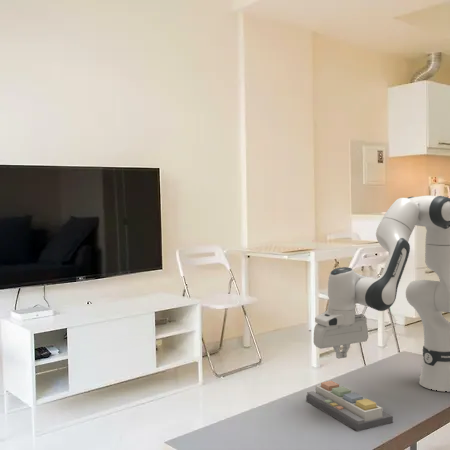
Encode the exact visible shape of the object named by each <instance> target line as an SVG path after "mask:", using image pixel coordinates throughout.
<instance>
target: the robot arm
mask: <svg viewBox="0 0 450 450" xmlns="http://www.w3.org/2000/svg"><path fill="white" fill-rule="evenodd" d="M415 227H424V228H425V230H426V231H425V232H426V233H425V244H424V245H425V246H424V247H425V250H424V251H425V253H424V258H425V260H424V262H425V265H426V267H427V268H428V269H430V271H433V272H434V273H435V274H436V275H437V277H438V279H439V281H436V280H431V279H418V280H412V281H410V282H409V283H408V285H407V286H406V289H405V298H406V301H407V303H408V304H409V305H410V306H411V307H413V309H414V310H415V311H416V313H418V316H419V318H420V320H421V324H422V326H423V346H422V356H423V357H422V363H421V371H420V374H419V382H418V384H419V385H420V386H422V387H424V388H426V389H429V390H431V389H432V391H436V390H437V392H445V391H447V392H448V393H450V321H449V320H447V319H446V318H445V316H444V315H443V313H450V198H449V197H447V196H443V195H421V196H420V195H419V196H409V197H399V198H397V199H396V200H395V201H394V202H393V203H392V204H391V205H390V206H389V208H388V209H387V210H386V212H385V214H384V215H383V217H382V218H381V220H380V222H379V223H378V226H377V228H376V233H375V236H376V240H377V242H378V244H379V246H381V247H382V248H383V249H384V250H386V251H387V252H388V258H387V261H386V263H385V267H384V268H383V272H382V274H381V275H380V276H379V277H375V278H374V277H370V276H365V275H363V274H360V273H357V272H356V271H354V269H353V268H351V267H348V266H346V267H345V266H343V267H337V268H335V269H332V270H331V271H330V273H329V276H328V282H327V297H328V305H327V310H325V311H324V312H322V313H321V314H317V315H316V316H315V318H314V322H315V326H314V328H313V345H314V346H315V347H316V348H318V349H328V348H333V350H334V352H335V357H336V359H344V358H347V357H348V352H349V350H350V348H351V344H352V345H353V344H359V343H363V342H367V341H368V339H369V332H368V331H369V330H368V328H369V327H368V322H367V317H366V315H364V314H363V313H359V314H356V304H357V305H361V306H364V307H369V308H371V309H373V310H375V311H377V312H378V311H379V312H385V311H387V310H388V309H390V308H391V307H392V306H393V305H394V304H395V302H396V299H397V293H398V287H399V286H400V285H399V284H400V282H401V279H402V275H403V273H404V270H405V267H406V264H407V261H408V258H409V257H410V252H411V245H410V243H409V241H410V238H411V235H412V233H413V231H414V229H415ZM341 346H343V348H342V349H341ZM340 349H341V351H340ZM447 392H446V393H447Z"/></svg>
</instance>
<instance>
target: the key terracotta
mask: <svg viewBox="0 0 450 450" xmlns="http://www.w3.org/2000/svg"><path fill="white" fill-rule="evenodd" d="M320 385H321V387H322V388H323V389H325V390H327V391H332V388H336V387H339V386H340V383H336V382H335V381H333V380H328V381H327V380H326V381H323V382H320Z"/></svg>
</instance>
